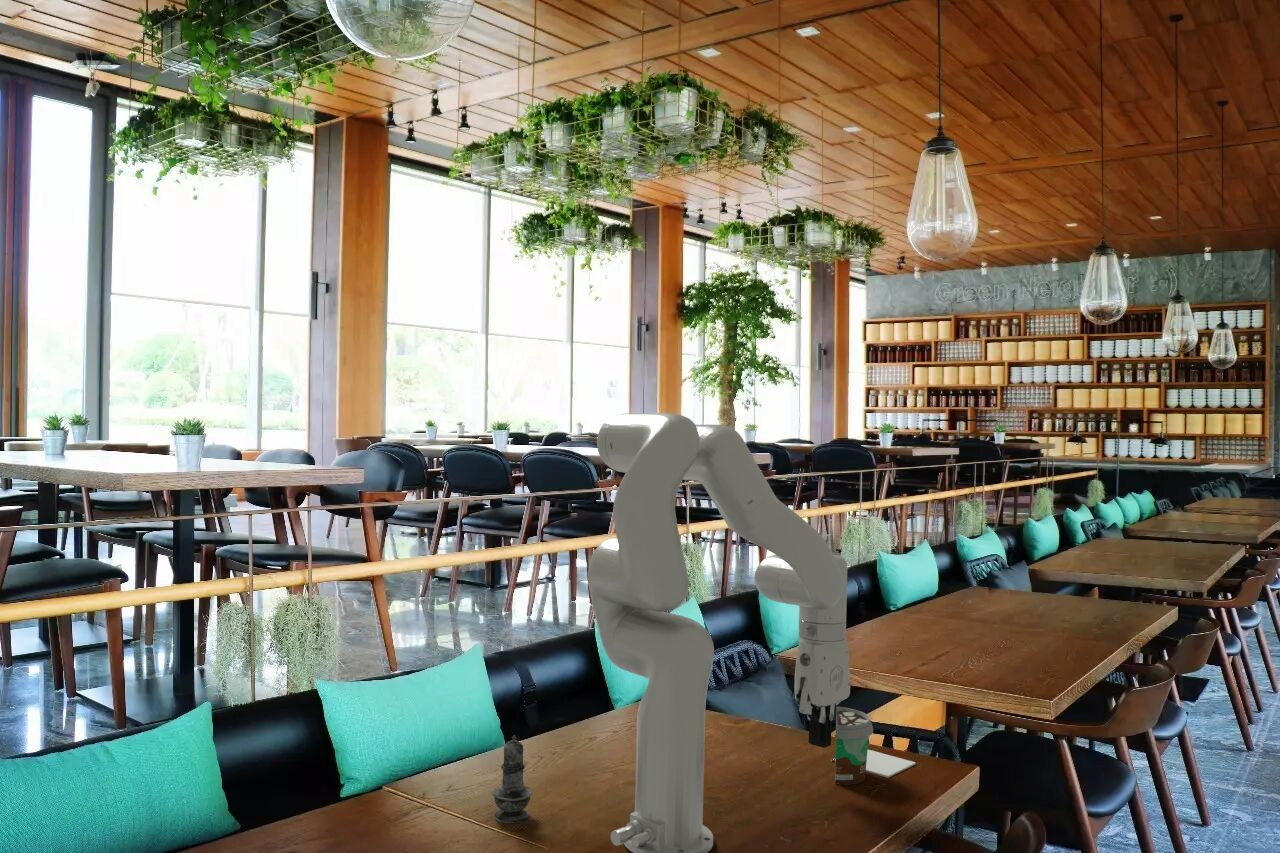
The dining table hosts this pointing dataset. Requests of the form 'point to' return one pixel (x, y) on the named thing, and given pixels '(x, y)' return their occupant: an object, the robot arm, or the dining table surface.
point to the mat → (885, 764)
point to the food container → (851, 745)
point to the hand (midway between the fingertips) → (819, 744)
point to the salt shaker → (512, 786)
